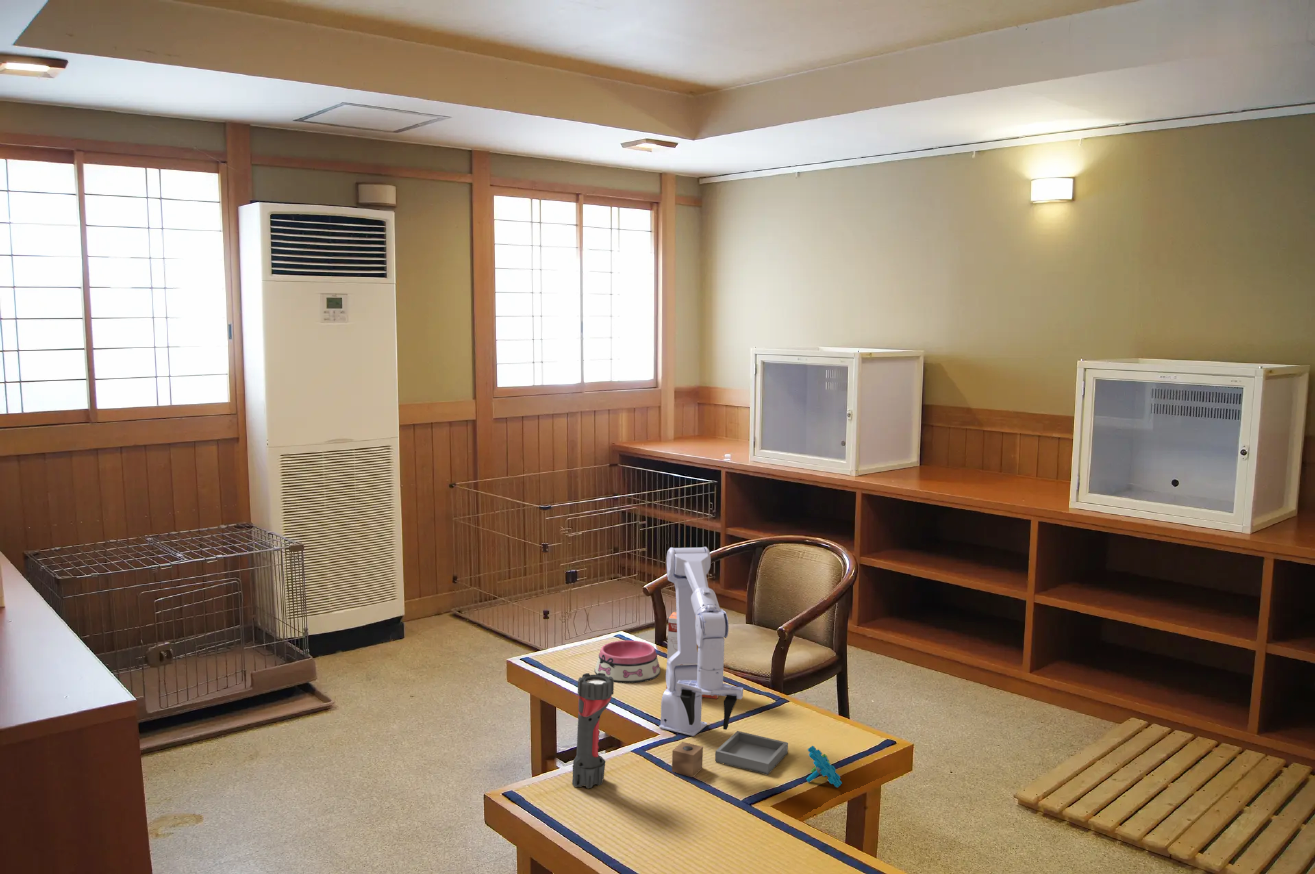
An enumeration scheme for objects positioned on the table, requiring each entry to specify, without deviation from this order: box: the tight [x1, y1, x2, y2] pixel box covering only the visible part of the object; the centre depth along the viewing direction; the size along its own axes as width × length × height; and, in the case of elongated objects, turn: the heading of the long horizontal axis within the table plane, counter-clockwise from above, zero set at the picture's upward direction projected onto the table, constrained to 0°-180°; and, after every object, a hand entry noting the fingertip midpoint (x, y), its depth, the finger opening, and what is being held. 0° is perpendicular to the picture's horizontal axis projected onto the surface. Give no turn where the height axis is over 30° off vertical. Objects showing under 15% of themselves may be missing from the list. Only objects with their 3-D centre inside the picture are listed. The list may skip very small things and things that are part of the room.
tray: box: [714, 730, 789, 776], centre depth 219 cm, size 13×13×2 cm
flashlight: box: [571, 672, 615, 789], centre depth 204 cm, size 8×8×23 cm
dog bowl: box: [594, 639, 661, 684], centre depth 271 cm, size 18×19×7 cm
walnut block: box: [671, 741, 704, 778], centre depth 212 cm, size 5×5×5 cm
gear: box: [806, 745, 843, 788], centre depth 208 cm, size 11×6×10 cm
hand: (708, 725), depth 213 cm, fingers open, 7 cm apart
